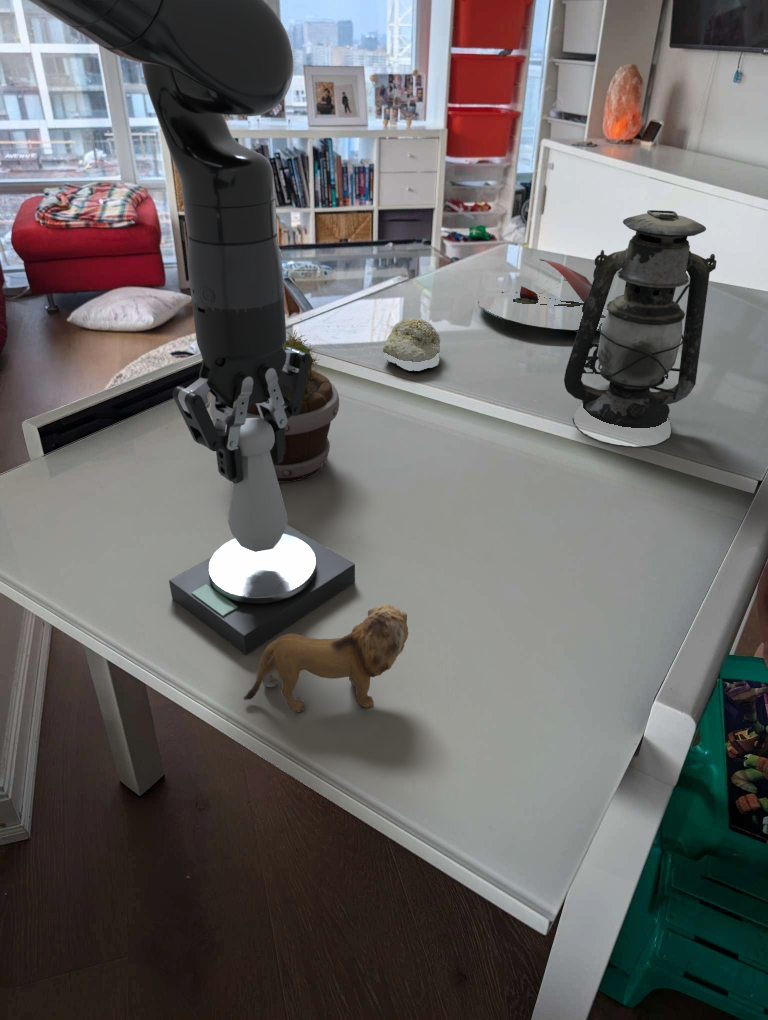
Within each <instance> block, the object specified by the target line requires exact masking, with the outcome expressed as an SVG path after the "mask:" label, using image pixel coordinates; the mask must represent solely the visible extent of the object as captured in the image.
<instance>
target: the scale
mask: <svg viewBox="0 0 768 1020" xmlns="http://www.w3.org/2000/svg"><path fill="white" fill-rule="evenodd" d="M283 533H284V534H288V535H292V536H294V537H297V538H299V539H301V540H302V541H304V542H305V543H307V544H308V545H309V546H310V547H311V549H312V550H313V552H314V553H315V556H316V566H317V568H316V573H315V576H314V578H313V579H312V581H311V582H310V583H309V585H308V586H307V587H305V588H304V589H303V590H302V591H300V592H299V593H297V594H295V595H293V596H291V597H289V598H286V599H283V600H280V601H276V602H271V603H261V604H254V603H244V602H239V601H235V600H232V599H230V598H227V597H225V596H224V595H222V594H221V593H219V592H218V591H217V590H216V589H215V588H214V587H213V585H212V583H211V581H210V578H209V571H208V567H209V562H210V560H211V558H212V556H211V557H209V558H207V559H205V560H203V561H201V562H200V563H198V564H196V565H194V566H193V567H191V568H189V569H187V570H185V571H183V572H182V573H180V574H178V575H176V576H174V577H172V578H170V579H169V580H168V582H169V589H170V594H171V595H170V596H171V599H172V600H173V601H175V602H176V604H178V605H179V606H181V607H182V608H183V609H185V610H186V611H187V612H189V613H190V614H191V615H193V616H194V617H195V618H196V619H198V620H199V621H200V622H202V623H204V624H205V625H206V626H207V627H209V629H211V630H213V631H214V632H215V633H217V634H218V635H219V636H220V637H222V638H223V639H225V640H226V641H227V642H228V643H230V644H231V645H232V646H233V647H235V648H236V649H237V650H239V651H240V652H241V653H243V654H244V655H246V656H247V655H249V654H250V653H252V652H253V651H255V650H256V649H258V648H259V647H260V646H262V645H263V644H265V643H266V642H268V641H269V640H271V639H273V638H274V637H275V636H277V635H279V634H280V633H281V632H283V631H285V630H286V629H288V628H289V627H290V626H292V625H294V624H295V623H296V622H298V621H299V620H301V619H302V618H304V617H305V616H307V615H308V614H310V613H311V612H314V611H315V610H316V609H318V608H319V607H320V606H322V605H323V604H325V603H327V602H328V601H330V600H331V599H332V598H334V597H336V596H337V595H338V594H339V593H341V592H343V591H344V590H345V589H347V588H348V587H350V586H352V585H353V584H354V583H356V564H355V563H354V562H352V561H351V560H349V559H347V558H346V557H344V556H342V555H340V554H338V553H337V552H335V551H333V550H332V549H330V548H328V547H327V546H325V545H323V544H321V543H320V542H318V541H316V540H315V539H313V538H311V537H309V536H308V535H306V534H304V533H303V532H301V531H299V530H298V529H296V528H295V527H293V526H291V525H290V524H287V525H286V528H285V530H284V532H283Z"/></svg>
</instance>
